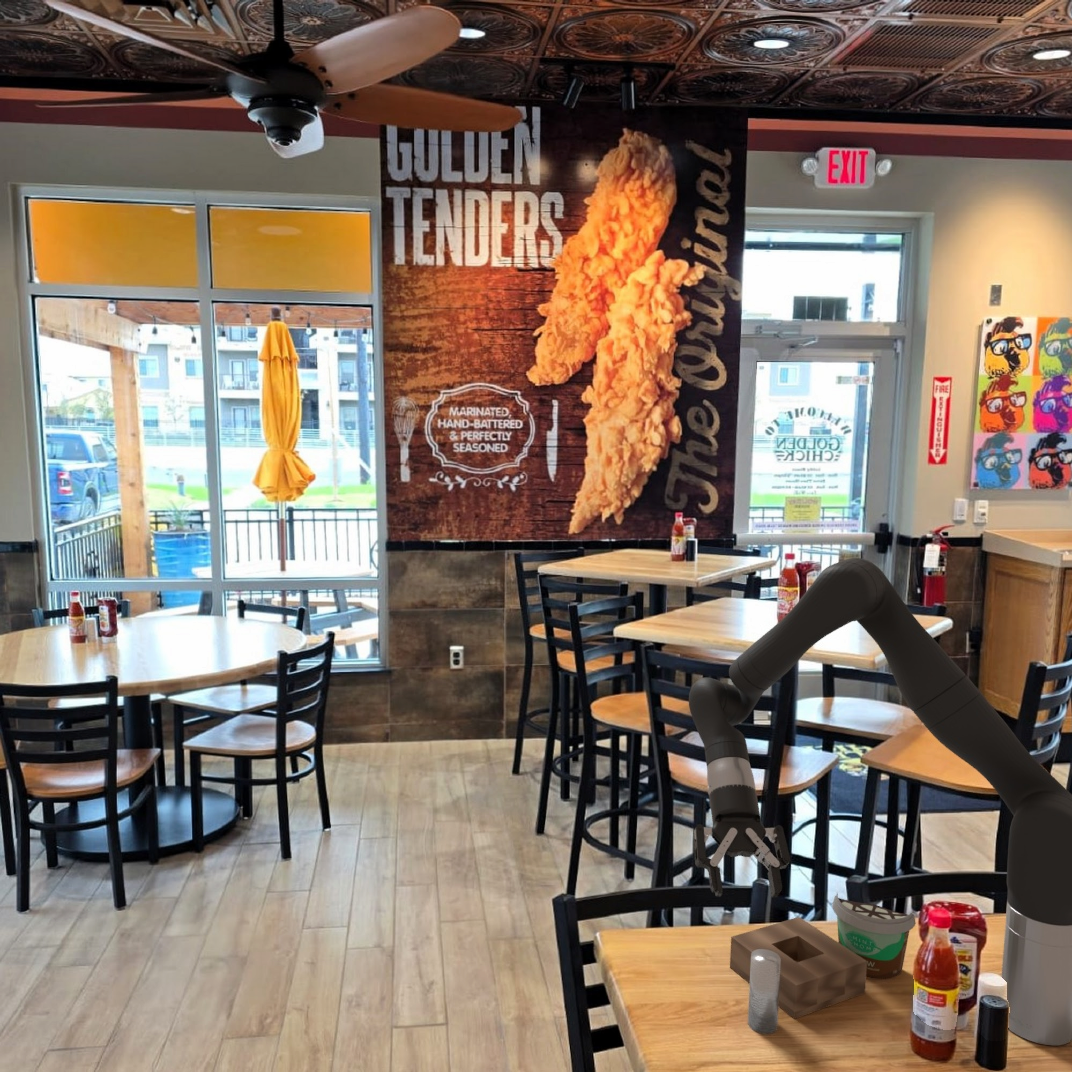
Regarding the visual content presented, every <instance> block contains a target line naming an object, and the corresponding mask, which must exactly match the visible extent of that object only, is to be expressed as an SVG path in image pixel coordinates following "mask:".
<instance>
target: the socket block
mask: <svg viewBox="0 0 1072 1072" xmlns="http://www.w3.org/2000/svg"><path fill="white" fill-rule="evenodd" d="M730 937H731V938H730V953H729V955H730V957H729V968H730V969H731V970H732V971H734V972H735V973H737V975H739V976H740V977H741V978H743V979H744V980H745V981H746V982H748V983H749V984H750V966H751V953H752V952H753V951H754V950H757V949H767V950H770V951H773V952H775V953H777V954H778V955H779V956H780V958H781V963H780V983H779V1003H778V1008H780V1009H781V1010H782V1011H784V1012H785V1013H787V1014H788V1015H789V1016H791V1018H793V1019H794V1020H795V1019H798V1018H801V1017H803V1016H806V1015H809V1014H811V1013H815V1012H817V1011H819V1010H823V1009H825V1008H827V1007H831V1006H833V1005H836V1004H840V1003H841V1002H844V1001H847V1000H850V999H852V998H856V997H858V996H861V995H864V994H866V985H867V977H866V970H867V961H866V960H864V959H863V958H861V957H860V956H858V955H857V954H855V953H854V952H852V951H851V950H849V949H848V948H846V947H845V946H843V945H841V944H840V943H839V941H837V940H835V939H833V938H832V937H830V936H829V935H827V934H826V933H825V932H823V931H822V930H820V929H818V928H817V927H816V926H814V925H812V924H811V923H809V922H808V921H806V920H804V919H803V918H802V917H800V916H797V917H794V918H789V919H787V920H784V921H783V920H782V921H781V922H777V923H773V924H770V925H766V926H764V927H760V928H757V929H753V930H749V931H746V932H743V933H739V934H736V935H733V936H730Z"/></svg>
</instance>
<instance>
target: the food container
mask: <svg viewBox="0 0 1072 1072" xmlns="http://www.w3.org/2000/svg"><path fill="white" fill-rule="evenodd" d="M838 896H839V895H838V892H836V895H834V898H833V901H832V909H833V912H834V914H835V915H836V920H837V939H838V941H837V942H838V943H840V944H841V945H843V946H845V947H846V948H848V949H849V950H851V951H852V952H854V953H855V954H857V955H858V956H860V957H861V958H863V959H864V960H866V961H867V970H866V978H868V979H874V980H889V979H893V978H896V977H898V976H899V975H900V974H901V973H902V970H903V967H904V962H905V956H906V951H907V946H908V939H909V935H910V931H911V930H912V929H914V928H915V926H916V918H915V917H916V916H915V914H914V913H913V909H912V910H911V912H910V913H909V914H907V913H902V912H897V911H895V910H894V911H893V910H891V909H887V908H886V907H883V906H880V905H877V904H874V903H866V902H865V903H864V902H858V901H852V900H848V899H844V898H840V897H838Z"/></svg>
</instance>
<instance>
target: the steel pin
mask: <svg viewBox="0 0 1072 1072" xmlns="http://www.w3.org/2000/svg"><path fill="white" fill-rule="evenodd" d="M780 963H781V958H780V956H779V955H778V954H777V953H775V952H773V951H770V950H767V949H757V950H754V951H753V952H752V953H751V966H750V983H749V992H748V1010H747V1011H748V1013H747V1024H748V1027H749V1028H750V1029H751V1030H752V1031H753V1032H756V1033H758V1034H763V1035H771V1034H774V1033H775V1032H776V1031H777V1030H778V1019H779V1018H778V1017H779V1006H778V1003H779V983H780Z"/></svg>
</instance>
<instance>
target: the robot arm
mask: <svg viewBox="0 0 1072 1072" xmlns="http://www.w3.org/2000/svg"><path fill="white" fill-rule="evenodd" d="M890 581H891V580H889V579H888V577H887V576H886V575H885V573H884V572H883V571H882V570H881V568H880V567H879V566H877V565H876V564H874V563H873V562H871V561H869V560H868V559H865V558H862V557H850V558H846V559H843V560H842V561H841V560H840V561H838V562H835V563H833V564H831V565H828V566H827V567H825V568H824V569H823V570H822V571H821V572H820V573H819V575H818V576H817V577H815V580H814V581H813V582H812V584H811V585H810V586H809V588H807V590H806V591H805V593H803V595H802V596H801V598H800V599H799V600H798V601H797V602H796V604H795V605H794V606H793V608H792V609H790V611H789V612H788V613H787V614H786V615H785V616H784V617H783V618H782V619H781V620H780V621H779V622H778V623H776V624H775V625H773V627H772V628H771V629H769V630H768V631H767V632H766V633H765V634H763V635H761V636H760V638H759V639H757V640H756V641H755V642H754V643H752V644H751V645H750V646H748V648H747V649H745V651H744V652H742V653H741V654H740V655H739V656H738V657H737V658H736V659H735V660H734V661H733V662H731V664H730V666H729V669H728V675H729V676H728V677H729V678H730V680H731V683H732V684H729V683H727V682H724V681H721V680H719V679H715V678H712V677H701V678H699V679H697V680H696V681H695V682H694V683H693V685H692V686H691V688H690V690H689V694H688V707H689V713H690V715H691V718H692V721H693V724H694V726H695V727H696V728H695V729H696V730H697V733H698V735H699V738H700V739H701V741H702V744H703V747H704V755H705V762H706V763H705V764H706V771H707V772H706V773H707V774H706V780H707V781H706V782H707V794H708V798H709V804H710V812H711V814H710V815H711V821H712V827H710V826H709V827H707V826H706V827H705V826H704V825H703V824H700V823H699V824H696V826H695V828H694V830H693V846H694V863H695V866H696V867H697V868H702V869H705V870H706V871H707V872H708V880H709V887H710V891H711V893H714V894H715V897H722V896H723V891H724V889H723V884H722V883H723V882H722V881H723V880H722V875H721V868H720V867H719V864H720V863H721V861H722V859H723V858H724V856H725V855H727V856H730V857H731V858H735V857H740V856H741V857H743V858H751V856H754V858H755V859H756V860H757V861H758V862H759V863H761V864H762V865H763V866H764V867H765V868H766V869H767V870H768V872H767V878H768V884H769V891H770V896H771V898H777V897H778V896H779V895H780V893H781V891H782V890H783V883H782V882H783V881H782V877H781V872H780V870H782V869H786V868H787V866H788V865H789V864H790V863H791V855H790V852H789V848H788V847H789V846H788V844H787V840H786V839H787V838H786V836H785V835H786V834H785V832H784V831H785V830H784V828H783V826H782V825H780V824H777V825H776V826H774V827H765V826H764V825H763V823H762V820H761V815H760V814H761V813H760V812H761V811H760V808H759V807H760V806H759V801H758V795H757V794H758V793H757V789H756V784H755V777H754V774H753V770H752V767H751V764H750V757H749V756H750V755H749V751H748V745H747V740H746V737H745V735H744V734H743V732H741V731H740V730H738V728H736V727H734V726H737V725H739V724H741V723H743V722H744V721H746V720H747V718H748V717H749V716H750V714H751V713H752V711H753V710H754V708H755V706H756V705H757V704H758V701H760V699H761V696H762V695H763V694H764V692H766V691H767V690H768V689H769V688H770V687H772V686H773V685H774V684H776V682H778V681H779V680H780V679H781V678H783V677H784V676H785V675H786V674H787V673H788V672H789V671H790V670H791V669H792V668H793V667H795V665H796V664H797V663H798V661H800V659H801V658H802V657H803V656H804V655H805V654H806V653H807V652H808V650H809V649H811V648H812V647H813V646H814V645H816V644H817V643H818V642H819V641H821V640H822V639H824V638H825V637H826V636H828V635H830V634H831V633H833V632H835V631H837V630H838V629H840V628H842V627H845V626H846V625H848V624H850V623H852V622H856V621H857V623H858V624H859V625H860V626H861V627H862V628H863V629H864V630H865V631H866V632H867V634H868V635H869V636H870V637H871V639H873V641H875V643H876V645H878V647H879V648H880V650H881V652H882V654H883V656H884V657H885V660H886V661H887V663H888V666H889V668H890V671H891V673H892V675H893V678H894V681H895V682H896V686H897V688H898V690H899V691H900V694H901V695H902V698H903V700H904V701H905V702H906V704H907V706H908V707H909V708H910V709H911V711H912V712H913V713H914V714H915V716H916V717H917V718H918V719H919V720H920V722H921V723H922V724H923V725H924V727H925V728H926V729H927V730H928V732H929V733H930V734H931V735H932V736H933V737H934V738H935V739H936V740H937V741H938V742H940V743H941V744H942V745H943V746H944V747H945V748H946V749H948V750H949V751H950V752H952V753H953V754H954V755H955V756H957V757H958V758H959V759H961V760H963V761H964V762H965V763H967V765H969V766H971V768H973V769H975V770H976V771H977V772H978V773H980V774H981V776H983V778H984V779H985V780H986V781H987V782H988V783H989V784H990V786H992V788H993V789H994V790H995V792H996V793H997V794H998V796H1000V798H1001V800H1002V801H1003V802H1004V803H1005V805H1006V807H1007V808H1008V810H1009V811H1010V812H1011V814H1012V816H1013V817H1012V820H1011V823H1010V827H1009V835H1008V847H1007V848H1008V849H1007V864H1006V865H1007V867H1006V886H1007V899H1006V910H1005V911H1006V913H1005V926H1004V928H1005V929H1004V936H1003V937H1004V940H1003V952H1002V953H1003V954H1002V964H1001V965H1002V968H1001V977H1002V978H1003V979H1004V980H1005V981H1006V982H1007V1000H1008V1002H1009V1007H1010V1013H1009V1029H1008V1030H1010V1031H1011V1032H1012V1033H1013V1034H1015V1035H1017V1036H1019V1037H1021V1038H1023V1039H1025V1040H1028V1041H1030V1042H1033V1043H1037V1044H1041V1045H1046V1046H1063V1045H1066V1044H1069V1043H1070V1042H1071V1041H1072V793H1071V792H1070V791H1068V790H1067V789H1066V787H1065V786H1063V784H1061V783H1060V781H1058V780H1057V779H1056V778H1055V777H1054V776H1053V775H1052V774H1051V773H1050V772H1049V771H1048V770H1047V769H1046V768H1045V767H1044V766H1043V765H1042V764H1041V763H1040V762H1039V761H1038V760H1037V759H1035V757H1034V756H1033V755H1032V754H1031V753H1030V752H1029V751H1028V750H1027V749H1026V747H1025V746H1024V745H1023V743H1022V742H1021V741H1020V740H1019V738H1018V737H1017V736H1016V734H1015V733H1014V732H1013V731H1012V729H1011V728H1010V726H1009V725H1008V723H1006V722H1005V720H1004V719H1003V718H1002V717H1001V716H1000V715H999V713H998V712H997V710H995V709H994V707H993V706H992V704H991V703H990V702H989V701H988V700H987V698H986V697H985V696H984V694H983V693H982V692H981V690H979V689H978V687H977V686H976V685H975V684H974V683H973V682H972V680H971V679H970V678H969V677H968V676H967V675H966V674H965V672H964V671H963V670H962V669H961V667H959V666H958V665H957V664H956V662H955V661H953V659H952V658H951V657H950V656H949V655H948V653H947V652H946V651H945V650H944V649H943V648H942V646H940V644H939V643H938V642H937V641H936V640H935V639H934V638H933V636H932V635H930V633H929V632H928V631H927V630H926V629H925V627H924V626H923V625H921V623H920V622H919V621H918V619H917V618H916V617H915V615H914V614H913V613H912V611H911V610H910V609H909V608H908V606H907V605H906V603H905V602H904V600H903V599H902V597H901V596H900V595H899V593H898V592H897V590H896V589H895V586H894V585H892V583H891V582H890ZM710 836H711V837H712V839H713V840H714V841H715V843H716V844H717V845H718V847H717V849H716V851H715V853H714V854H713V856H712V857H711V858H710V857H707V854H706V843H707V841H708V839H709V837H710ZM765 837H767V838H768V839H769V841H770V842H771V843H772V844H773V845H774V849H775V854H776V857H775V856H774V855H773V853H772V852H771V849H770V848H769V847H768V846H767V845H766V843H764V842H763V840H764V838H765ZM1070 1040H1071V1041H1070Z"/></svg>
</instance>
